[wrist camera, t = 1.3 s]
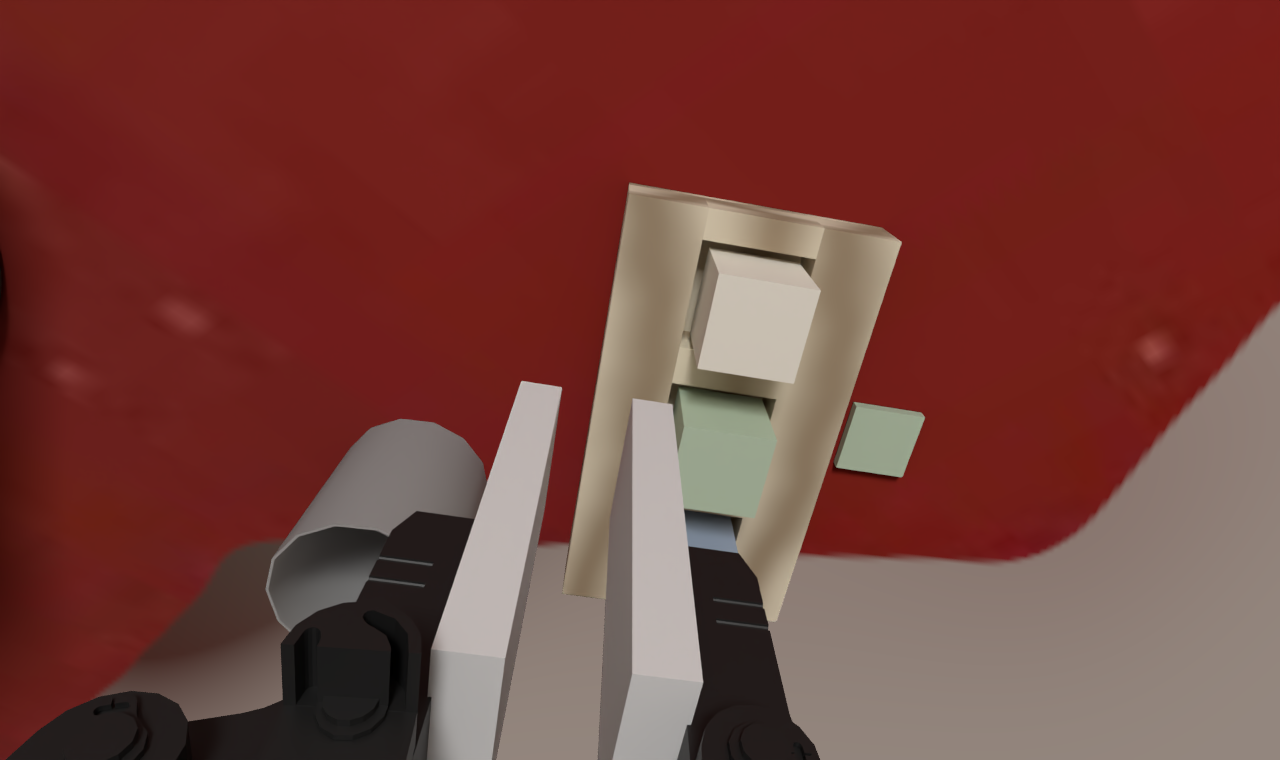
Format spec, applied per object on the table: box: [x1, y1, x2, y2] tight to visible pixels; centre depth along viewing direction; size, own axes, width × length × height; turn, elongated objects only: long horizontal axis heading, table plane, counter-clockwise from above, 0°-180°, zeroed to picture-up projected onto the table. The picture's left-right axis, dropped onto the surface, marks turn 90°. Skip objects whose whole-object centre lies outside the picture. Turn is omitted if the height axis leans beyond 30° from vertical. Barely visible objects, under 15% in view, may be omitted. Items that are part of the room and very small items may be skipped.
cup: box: [266, 419, 487, 632], centre depth 38 cm, size 8×8×10 cm
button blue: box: [684, 510, 738, 553], centre depth 40 cm, size 4×4×4 cm
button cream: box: [690, 247, 821, 384], centre depth 34 cm, size 4×4×4 cm
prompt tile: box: [834, 402, 925, 477], centre depth 41 cm, size 4×4×1 cm
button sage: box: [673, 386, 777, 518], centre depth 37 cm, size 4×4×4 cm
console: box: [562, 183, 902, 622], centre depth 40 cm, size 13×24×3 cm, turn 170°
